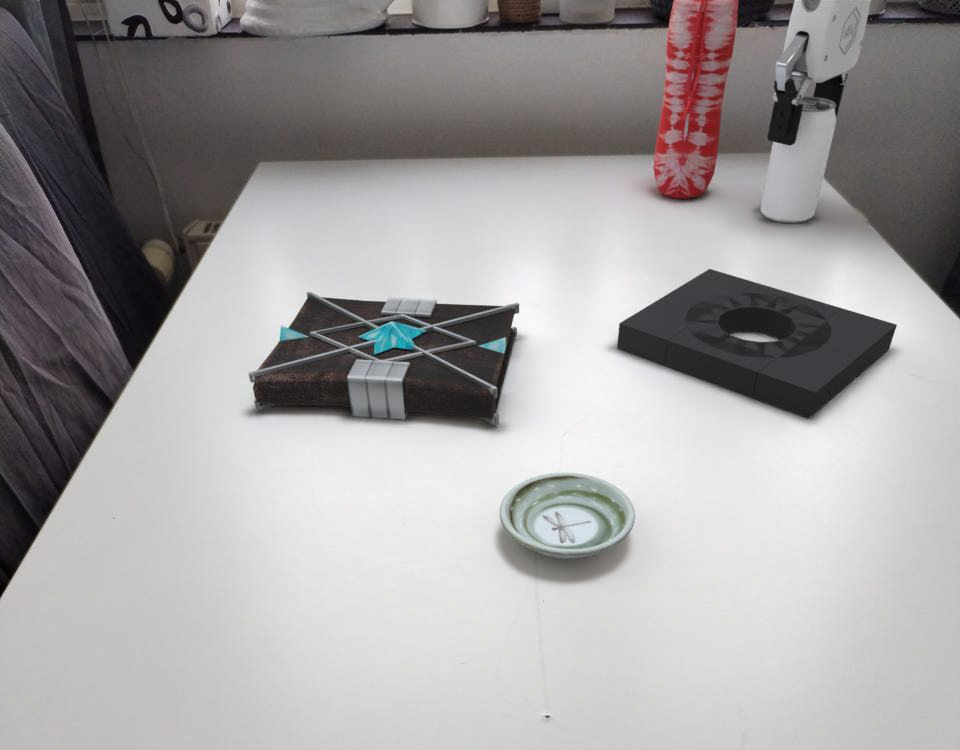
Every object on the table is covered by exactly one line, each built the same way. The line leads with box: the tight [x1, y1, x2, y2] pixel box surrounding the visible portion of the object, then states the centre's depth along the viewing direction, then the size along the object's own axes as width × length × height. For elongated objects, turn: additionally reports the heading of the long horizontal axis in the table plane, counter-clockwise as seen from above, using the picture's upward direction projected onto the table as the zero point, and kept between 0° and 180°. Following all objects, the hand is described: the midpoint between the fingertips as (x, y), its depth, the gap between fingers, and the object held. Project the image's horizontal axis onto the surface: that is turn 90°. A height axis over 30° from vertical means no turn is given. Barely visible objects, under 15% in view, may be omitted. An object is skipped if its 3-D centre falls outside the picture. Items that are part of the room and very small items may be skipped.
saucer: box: [499, 472, 636, 559], centre depth 64 cm, size 10×10×2 cm
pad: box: [616, 268, 897, 419], centre depth 84 cm, size 20×16×2 cm
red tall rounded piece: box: [653, 0, 739, 200], centre depth 107 cm, size 12×8×25 cm, turn 162°
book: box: [247, 290, 520, 427], centre depth 81 cm, size 22×17×5 cm
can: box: [759, 96, 837, 224], centre depth 104 cm, size 6×6×12 cm
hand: (801, 132), depth 102 cm, fingers open, 9 cm apart
